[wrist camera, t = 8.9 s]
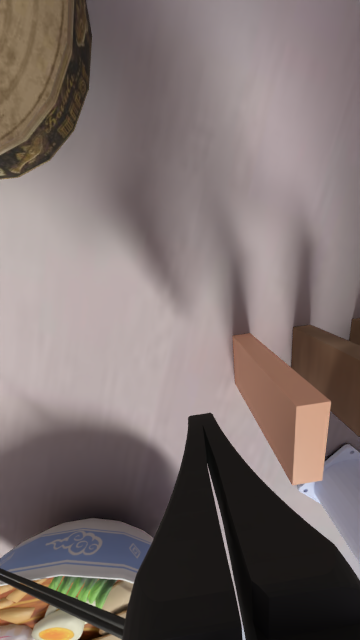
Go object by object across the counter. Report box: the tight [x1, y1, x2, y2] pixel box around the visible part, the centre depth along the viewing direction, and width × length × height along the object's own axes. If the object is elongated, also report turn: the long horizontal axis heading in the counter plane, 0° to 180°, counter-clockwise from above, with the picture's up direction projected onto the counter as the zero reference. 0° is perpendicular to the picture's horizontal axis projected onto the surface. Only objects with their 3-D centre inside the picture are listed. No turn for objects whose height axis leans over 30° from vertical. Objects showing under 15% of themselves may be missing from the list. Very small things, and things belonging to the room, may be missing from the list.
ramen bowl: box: [0, 518, 153, 640], centre depth 20 cm, size 25×23×8 cm
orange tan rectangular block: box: [233, 333, 331, 485], centre depth 14 cm, size 2×5×9 cm, turn 7°
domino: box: [291, 325, 360, 437], centre depth 14 cm, size 2×5×9 cm, turn 7°
